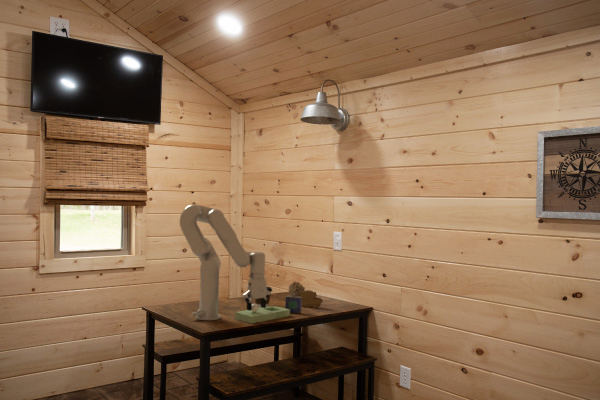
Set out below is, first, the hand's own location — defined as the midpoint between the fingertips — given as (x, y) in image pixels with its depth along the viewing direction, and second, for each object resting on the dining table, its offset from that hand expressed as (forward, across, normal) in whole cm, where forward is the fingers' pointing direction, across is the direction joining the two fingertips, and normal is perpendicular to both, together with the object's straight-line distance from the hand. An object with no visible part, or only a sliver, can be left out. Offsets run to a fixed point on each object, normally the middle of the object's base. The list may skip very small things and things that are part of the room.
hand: (256, 308), depth 263 cm
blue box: (+6, +26, -2) cm, 26 cm away
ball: (-1, -1, 0) cm, 2 cm away
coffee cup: (+5, +19, +16) cm, 25 cm away
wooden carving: (+6, +44, +3) cm, 44 cm away
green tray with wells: (+5, +5, 0) cm, 7 cm away
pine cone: (+5, +58, +25) cm, 64 cm away
